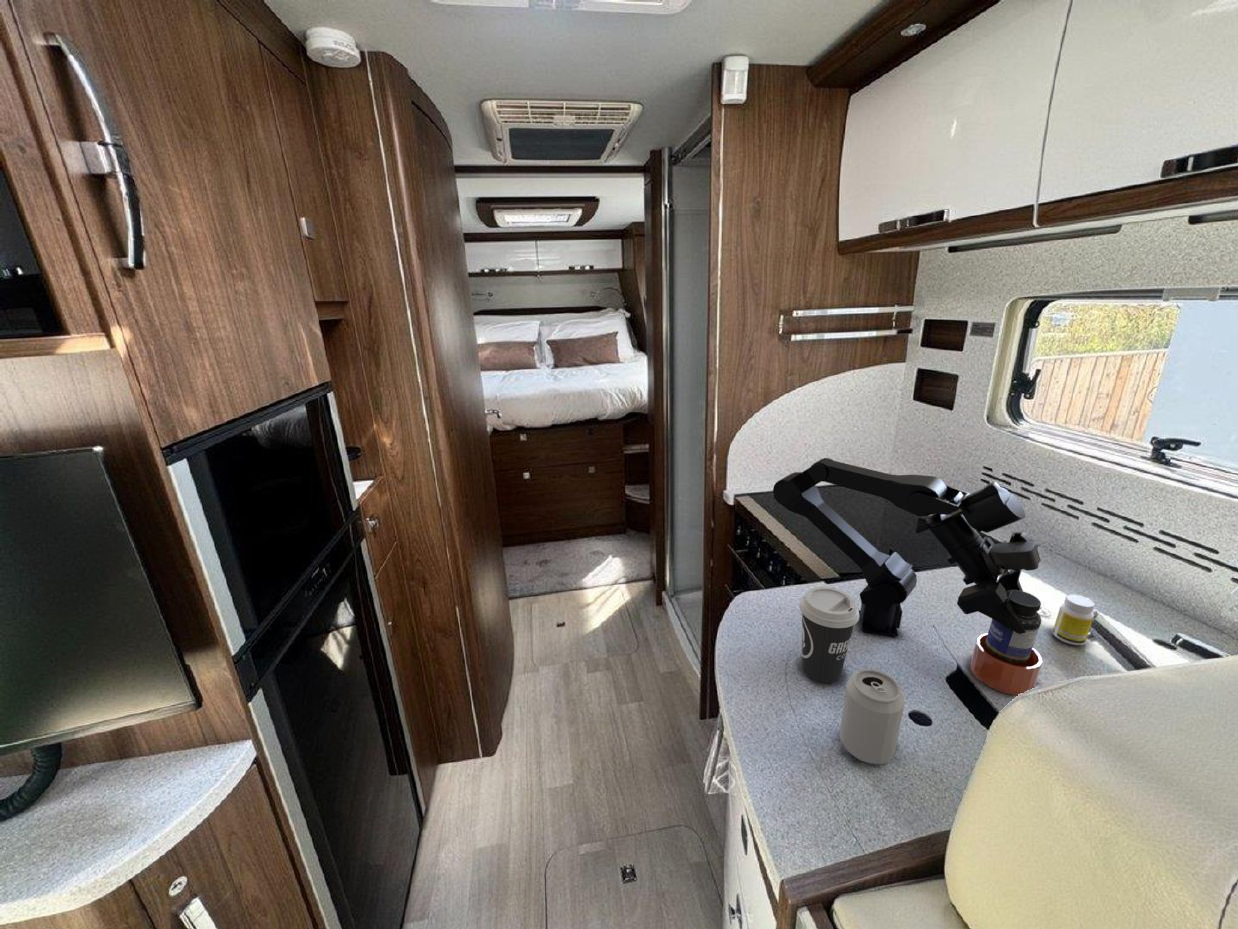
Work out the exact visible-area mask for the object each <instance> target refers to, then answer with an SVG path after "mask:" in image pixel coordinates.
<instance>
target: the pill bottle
mask: <svg viewBox="0 0 1238 929" xmlns="http://www.w3.org/2000/svg"><path fill="white" fill-rule="evenodd" d="M1009 591H1012V593H1011V597H1010V600H1009V603H1010V605H1011V606H1012V608H1013V610H1014V611H1015V613H1016V615H1017V616H1018V618H1019V620H1020V621H1021V623H1022V625H1023V627H1024V628H1025V630H1026V632H1025V633H1023V634H1018V633H1016V632H1014V631H1013V630H1011V629H1009V628H1007V627H1006V626H1004V625H1002V624H1001V623H999V622H997V621H995V620H994V619H992V618H991V621H990V625H989V629H988V631H987V633H988V635H987V638H986V642H985V644H986V647H987V648H988V650H989V651H990V652H991V653H992V654H994V655H995V656H997V657H999V658H1001V659H1003V660H1005V661H1009V662H1014V663H1023V662H1026V661H1027V660H1028V659H1029V657H1030V654H1031V651H1032V648H1034V645H1035V642H1036V639H1037V637H1038V633H1039V630H1040V627H1041V625H1042V617H1041V614H1040V613H1039V612H1038V611H1040V609H1041V605H1042V601H1041V600H1040V599H1039V598H1038V597H1037V596H1035V595H1033V594H1031V593H1029V592H1026V591H1024V590H1023V591H1019V590H1009ZM1009 591H1007V592H1009Z"/></svg>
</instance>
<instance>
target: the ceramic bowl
mask: <svg viewBox="0 0 1238 929" xmlns="http://www.w3.org/2000/svg"><path fill="white" fill-rule="evenodd" d="M987 635H988V632H985V633H982V634H979V635H978V636H977V638H976V639H975V644H974V647H973V651H972V656H971V659H970V670H971V672H972V673H973V675H974V676H975V677H976V678H977V679H978V680H979V681H980V682H982V683H983V684H985V685H986V686H987V687H990V688H991V689H993V690H996V691H998V692H1001V693H1005V694H1007V695H1013V696H1019V695H1018V694H1020V693H1024V692H1025V691H1027V690H1030V689H1032V688H1034V689H1035V688H1036V684H1037V683H1038V682H1037V681H1038V680H1039V675H1040V672H1041V668H1042V666H1043V658H1042V655H1041V654H1040V652H1039V651H1038V650H1037V649H1036V648H1034V647H1033V648H1032V651H1031V654H1030V657H1029V659H1028V660H1027V661H1026V662H1023V663H1014V662H1009V661H1005V660H1003V659H1001V658H999V657H997V656H995V655H994V654H992V653H991V652H990V651H989V650H988V648H987V647H986V644H985V642H986V638H987Z"/></svg>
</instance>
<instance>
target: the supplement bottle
mask: <svg viewBox="0 0 1238 929" xmlns="http://www.w3.org/2000/svg"><path fill="white" fill-rule="evenodd" d="M1094 608H1095V603H1094V601H1093V600H1091V599H1089V598H1087V597H1085V596H1083V595H1078V594H1067V595H1066V597H1065V599H1064V603H1062V604H1060V606H1059V610H1058V613H1057V616H1056V619H1055V622H1054V625H1053V629H1052V634H1053V636H1054V637H1056V638H1057V639H1058V640H1060V641H1061V642H1063V643H1065V644H1068V645H1072V646H1082V645H1084V644H1085V643H1086V642H1087V638H1088V635H1089V633H1090V629H1091V626H1092V624H1093V620H1094V617H1095V615H1094V610H1095V609H1094Z"/></svg>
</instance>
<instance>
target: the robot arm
mask: <svg viewBox="0 0 1238 929" xmlns="http://www.w3.org/2000/svg"><path fill="white" fill-rule="evenodd" d="M821 482H822V483H823V482H824V483H827V484H831V485H835V486H838V487H842V488H845V489H850V490H854V491H857V492H860V493H863V494H868V495H872V496H875V497H878V498H882V499H885V500H887V501H889V502H890V503H891V504H892V505H894V506H895V507H897V508H898V509H900V510H903V511H904V512H908V513H910V514H912V515H914V516H917V517H918V518H917V526H916V528H915V533H916V534H921V533H923V532H925V531H928V530H929V531H930V532H931V533H932V535H933V536H934V537H935V538H936V540H937V541H938V542H939V544H940V545H941V546H942V548H943V549H944V550H945V552H946V553H947V555H948V557H947V558H946V560H947V562H948V563H949V565H953V564H956V566H957V567H958V569H960V571H961V573H962V574H963V575H964V577H963V578H962V581H963V582H964V584H965V585H966V586H967V587H963V589H962V590H961V592H960V594H959V595H958V598H957V601H956V605H957V606H958V608H959V609H960V610H961V611H962V613H963V614H964V615H969V614H970V615H971V614H973V613H977V612H978V613H980V614H981V615H983V616H985V617H988V618H990V619H991V620H992V619H994V620H995V621H997V622H999V623H1001V624H1002V625H1004V626H1006V627H1007V628H1009V629H1011V630H1013V631H1014V632H1016V633H1018V634H1023V633H1025V632H1026V630H1025V628H1024V627H1023V625H1022V623H1021V621H1020V620H1019V618H1018V616H1017V615H1016V613H1015V611H1014V610H1013V608H1012V606H1011V605H1010V603H1009V600H1010V597H1011V593H1012V591H1009V590H1019V591H1023V592H1024V590H1023V588H1022V585H1021V582H1020V576H1021V574H1022V570H1025V571H1035V570H1038V569H1039V568H1040V567H1039V564H1040V562H1041V561H1042V559H1041V556H1040V553H1039V550H1038V548H1039V544H1038V543H1037V542H1036V541H1035V539H1033V538H1032V539H1031V538H1030V537H1029V536H1028V535H1027V534H1026V533H1025V532H1024V531H1017V532H1016V531H1015V532H1012V534H1011V536H1010V537H1009V538H1010V539H1009V541H1007V540H1004V541H1003V542H1000V543H999V542H998V543H995V542H994V541H993V540H992V539H991V537H988V536H983V537H982V536H981V534H979V533H981V532H983V533H986V534H988V533H991V532H994V531H996V530H998V529H1001V528H1004V527H1006V526H1009V525H1011V524H1013V523H1016V522H1019V521H1021V520H1023V519H1025V518H1026V512H1025V510H1024V507H1023V506H1022V504H1021V502H1020V501H1019V499H1018V498H1017V497H1016V496H1015V494H1013V493H1011V492H1010V491H1008V490H1007V489H1006V488H1004V487H1001V486H1000V485H999V484H998V483H997V481H993V482H991V483H989V484H986V486H984V487H983V488H980V489H978V490H976V491H974V492H972V493H970V492H968V491H965V490H962V489H959V488H956V487H954V486H951V485H948V484H945V483H944V481H943V480H942V479H941V478H939V477H936V476H933V475H924V474H890V473H888V472H887V473H886V472H882V471H879V470H874V469H870V468H866V467H862V466H857V465H852V464H849V463H845V462H842V461H837V460H834V459H832V458H829V457H823V458H821V459H819V460H817V461H816V462H813V464H811V465H810V467H808V468H807V469H805V470H803V471H802V472H801V471H794V472H791V473H790V474H788V475H786V476H784V477H783V478H781V479H779V480H777V481H776V482H775V484H774V485H773V489H772V492H773V495H772V496H773V498H774V500H775V502H777V503H778V504H779V505H781V506H782V507H783V508H785V509H787V510H788V511H789V512H791V513H793V514H797V515H800V516H803V517H805V519H807V520H808V521H809V522H810V523H812V525H814V527H816V528H817V529H818V530H819V531H820V532H821V533H822V534H823V535H824V536H825V537H826V538H827V539H828V540H829V541H831V543H833V544H834V545H835V546H836V547H837V548H838V549H839V550H840V551H841V552H843V553H844V554H845V555H846V556H847V557H848V558H849V560H851V561H852V562H853V563H854V564H855V565H856V566H857V567H858V568H859V569H860V570H861V573H862V575H863V577H864V579H865V582H866V584H867V585H866V586H865V587H864V588H863V589H862V590H861V592H860V593H859V599H860V603H861V604H860V610H858V611H859V620H858V621H859V624H860V627H861V631H862V632H864V633H869V634H876V635H883V636H891V637H898V636H899V631H898V629H900V628H901V622H902V617H903V610H902V607H901V605H902V603H904V602H905V601H906V600H907V598H908V597H909V595H910V594H911V593H912V592H913V591H914V589H915V587H916V586H917V583H918V579H917V574H916V572H915V571H914V569H913V565H912V564H911V563H908V562H907V561H905V560H904V559H903V557H901V555H900V554H899V553H898V552H896V551H893V552H892V553H891V554H890V555H889V554H887V553H884V552H881V551H879V550H878V549H877V548H876V547H875V546H874V545H872V544H871V543H870V542H869V541H868V540H867V539H866V538H865V537H864V536H863V535H861V533H859V532H858V531H857V530H856V529H855V528H853V527H852V526H851V525H850V524H849V522H847V521H846V520H845V519H844V518H842V516H840V515H839V514H838V513H837V512H836V511H835V510H833V508H831V506H829V505H828V504H827V503H826V502H825V501H824V500H823V498H822V496H821V493H820V491H819V489H818V487H817V485H818V484H820V483H821ZM972 584H973V585H972ZM968 585H969V586H968ZM1007 591H1009V592H1007Z"/></svg>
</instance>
